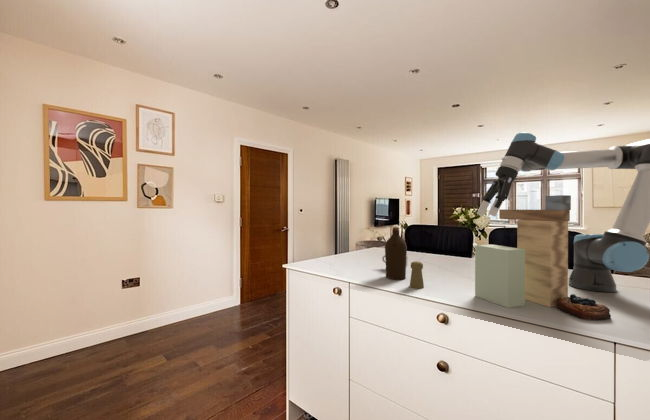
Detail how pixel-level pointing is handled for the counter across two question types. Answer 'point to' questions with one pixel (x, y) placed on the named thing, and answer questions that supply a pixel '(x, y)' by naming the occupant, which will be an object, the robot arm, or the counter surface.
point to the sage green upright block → (500, 274)
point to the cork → (416, 275)
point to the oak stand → (544, 259)
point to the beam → (554, 210)
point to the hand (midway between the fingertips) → (485, 215)
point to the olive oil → (395, 256)
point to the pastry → (583, 308)
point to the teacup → (385, 261)
